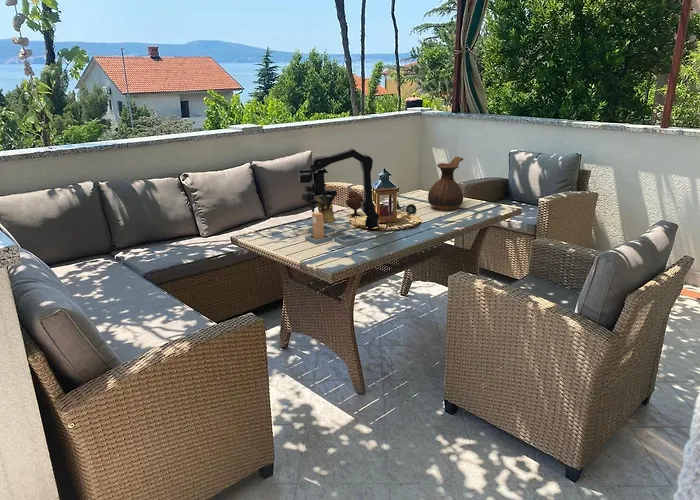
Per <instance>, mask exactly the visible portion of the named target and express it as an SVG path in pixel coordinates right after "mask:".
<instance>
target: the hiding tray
mask: <svg viewBox="0 0 700 500" xmlns="http://www.w3.org/2000/svg"><path fill="white" fill-rule="evenodd" d="M329 235H330V234H324V238H323V239H318V240H315V239H313V234H310V235H306V236H305V235H304V239H305V241H306V242H308V243H311V244H314V245H316V246H317V245H320V244H325V243H328V242H332V241H333V242H334V239H333V237H332V236H329Z"/></svg>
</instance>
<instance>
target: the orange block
mask: <svg viewBox="0 0 700 500" xmlns="http://www.w3.org/2000/svg"><path fill="white" fill-rule="evenodd" d="M311 216H312V227H313V233H312V235H313V239H315V240H318V239H323V238H324V225H325V223H324V220H323V213H319V211H318V212H314V213H313V212H312V213H311Z"/></svg>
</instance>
